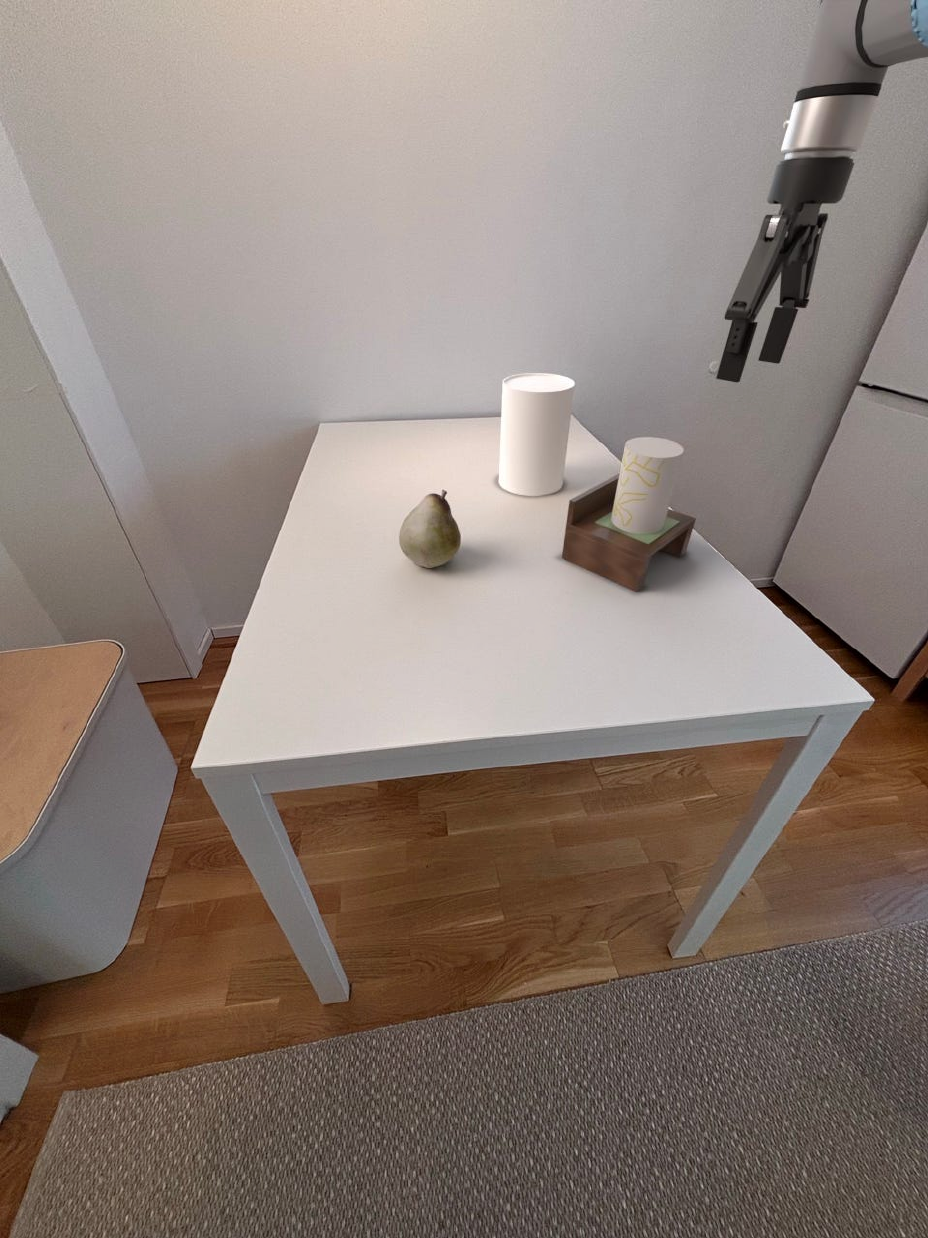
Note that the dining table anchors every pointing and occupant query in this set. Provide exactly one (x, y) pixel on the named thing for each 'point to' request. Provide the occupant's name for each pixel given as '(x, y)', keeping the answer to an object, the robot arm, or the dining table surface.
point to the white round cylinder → (646, 484)
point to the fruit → (430, 532)
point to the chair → (617, 538)
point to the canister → (534, 432)
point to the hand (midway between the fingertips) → (749, 370)
